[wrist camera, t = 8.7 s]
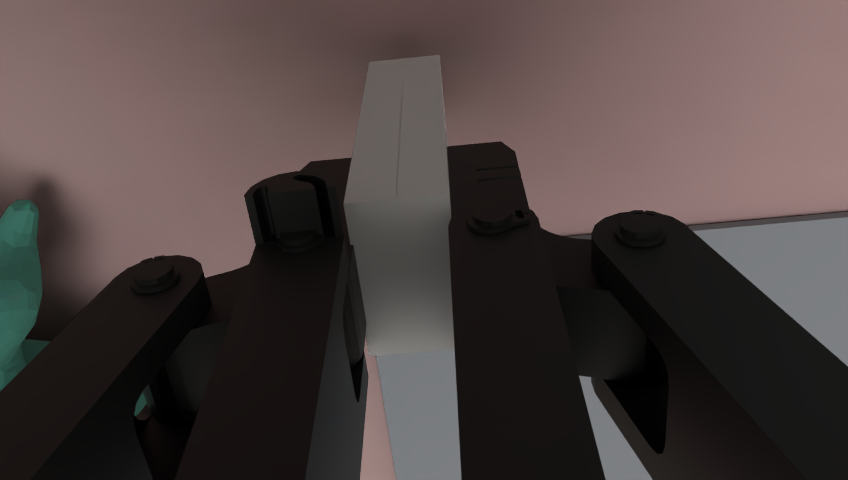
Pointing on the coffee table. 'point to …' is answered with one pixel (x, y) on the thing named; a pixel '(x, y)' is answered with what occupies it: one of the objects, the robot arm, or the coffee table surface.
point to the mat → (625, 474)
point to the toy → (21, 290)
